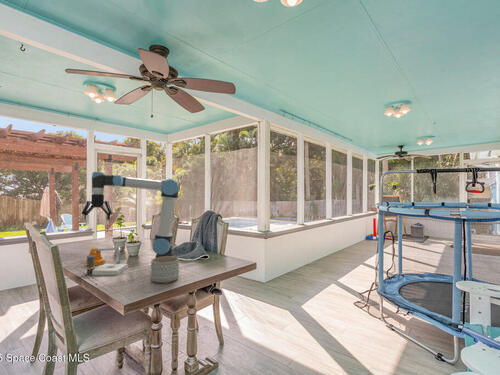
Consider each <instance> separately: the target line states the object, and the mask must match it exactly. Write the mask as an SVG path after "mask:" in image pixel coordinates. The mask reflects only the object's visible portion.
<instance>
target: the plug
mask: <svg viewBox="0 0 500 375" xmlns="http://www.w3.org/2000/svg"><path fill="white" fill-rule="evenodd" d="M94 258H95V256H89V255H87V256H86V261H87V264H86V275H88V276H89V275H92V270H94V269H96V268H95V267H96V266H94Z"/></svg>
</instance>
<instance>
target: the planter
mask: <svg viewBox="0 0 500 375" xmlns="http://www.w3.org/2000/svg"><path fill="white" fill-rule="evenodd" d="M173 256H174V255H173ZM173 256H165V257H158V258H155V257H154V258H152V259H151V260H150V261H151V262H150V263H151V265H150V269H151V270H150V279H151V281H152V282H154V283H156V284H168V283H169V282H170V283H173V282H175V281H176V280H178V279H179V277H180V276H179V275H180V273H179V271H180V270H179V268H180V258H179V257H177V256H174V257H173ZM172 281H173V282H172ZM170 283H169V284H170Z"/></svg>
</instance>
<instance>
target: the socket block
mask: <svg viewBox="0 0 500 375" xmlns="http://www.w3.org/2000/svg"><path fill="white" fill-rule="evenodd" d="M127 269H129V263H120V264H116V263H103V264H101V265H99V266H98V267H96V268H94V270H92V274H91V275H92V276H118V275H120V274H121V273H123V272H124V271H126V270H127Z"/></svg>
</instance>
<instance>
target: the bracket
mask: <svg viewBox="0 0 500 375" xmlns="http://www.w3.org/2000/svg"><path fill="white" fill-rule="evenodd" d="M95 249H99V248H97V247H92V248H91V249H90V250H89V253H88V256H95V258H94V266H95V265H96V266H101V265H103V264H106V259H104V258H103V257H102V255H101V252H102V251H95ZM85 264H86V265H87V260H86V261H85ZM100 264H101V265H100ZM96 266H95V267H96Z"/></svg>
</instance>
